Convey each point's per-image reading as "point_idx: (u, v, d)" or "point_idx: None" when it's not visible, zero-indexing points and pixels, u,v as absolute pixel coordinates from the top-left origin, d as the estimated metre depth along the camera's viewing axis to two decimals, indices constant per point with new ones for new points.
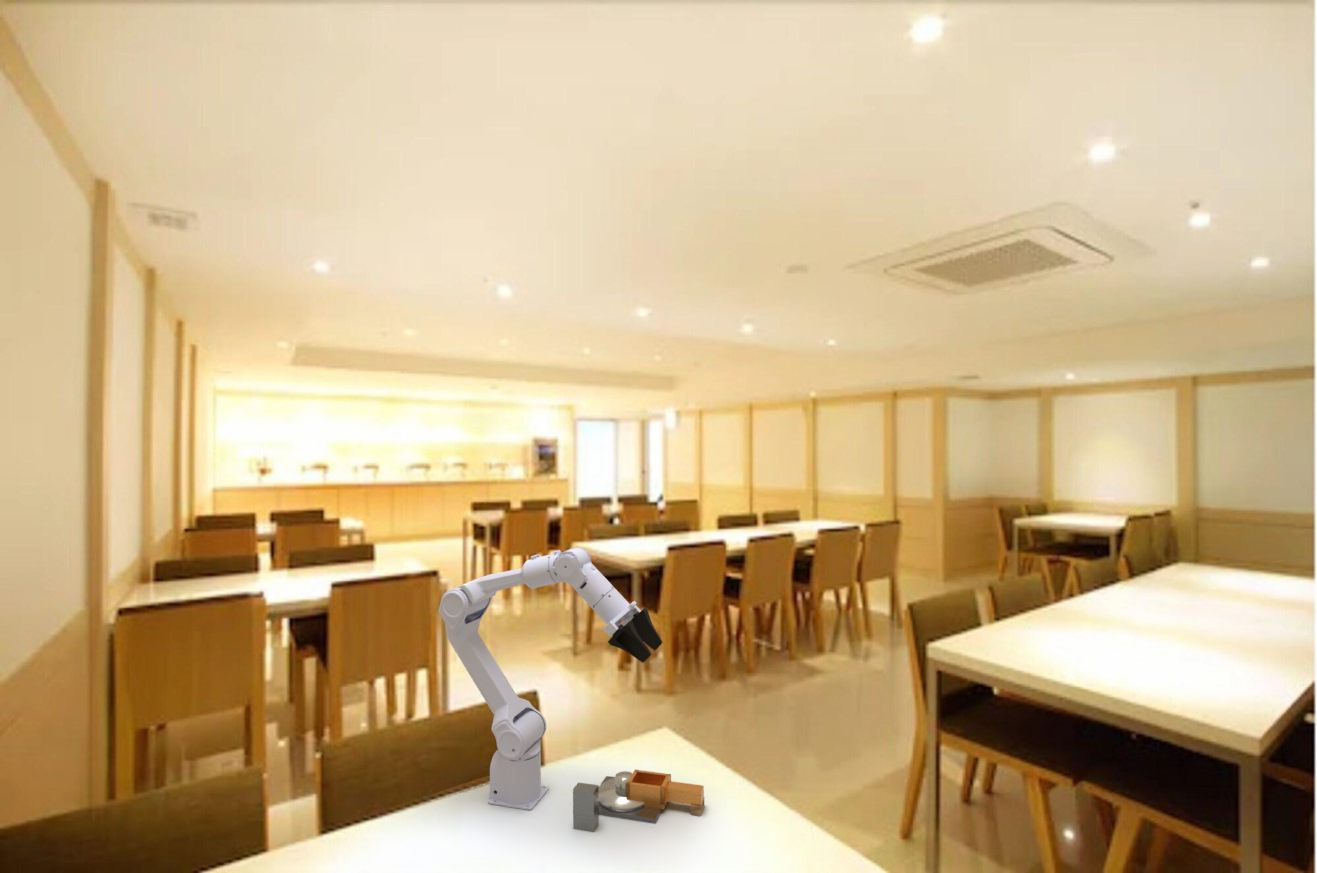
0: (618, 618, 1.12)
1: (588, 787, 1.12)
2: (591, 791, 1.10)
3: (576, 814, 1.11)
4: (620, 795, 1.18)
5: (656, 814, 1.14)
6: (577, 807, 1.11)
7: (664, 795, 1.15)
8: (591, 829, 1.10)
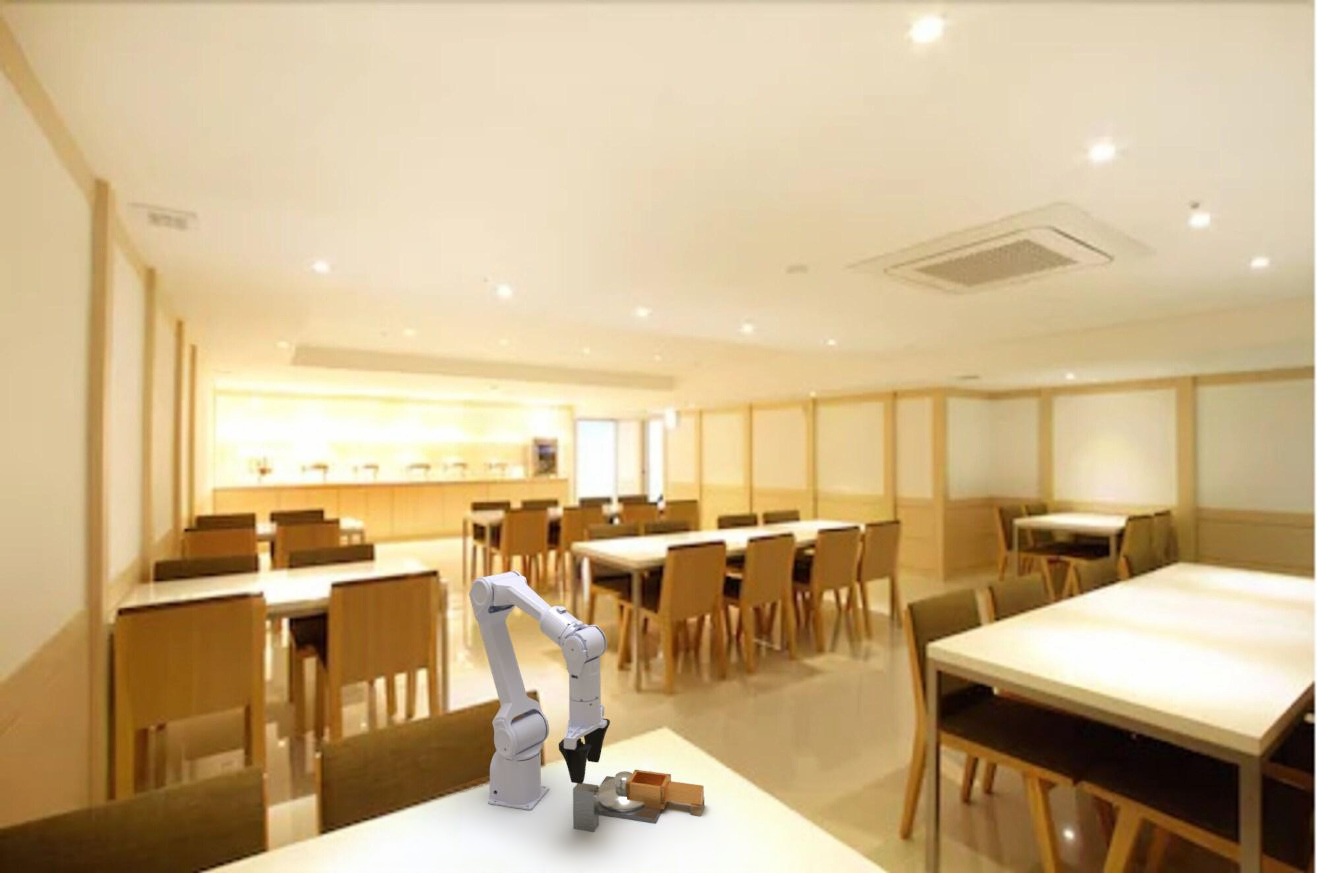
0: (582, 735, 1.07)
1: (588, 787, 1.12)
2: (591, 791, 1.10)
3: (576, 814, 1.11)
4: (620, 795, 1.18)
5: (656, 814, 1.14)
6: (577, 807, 1.11)
7: (664, 795, 1.15)
8: (591, 829, 1.10)
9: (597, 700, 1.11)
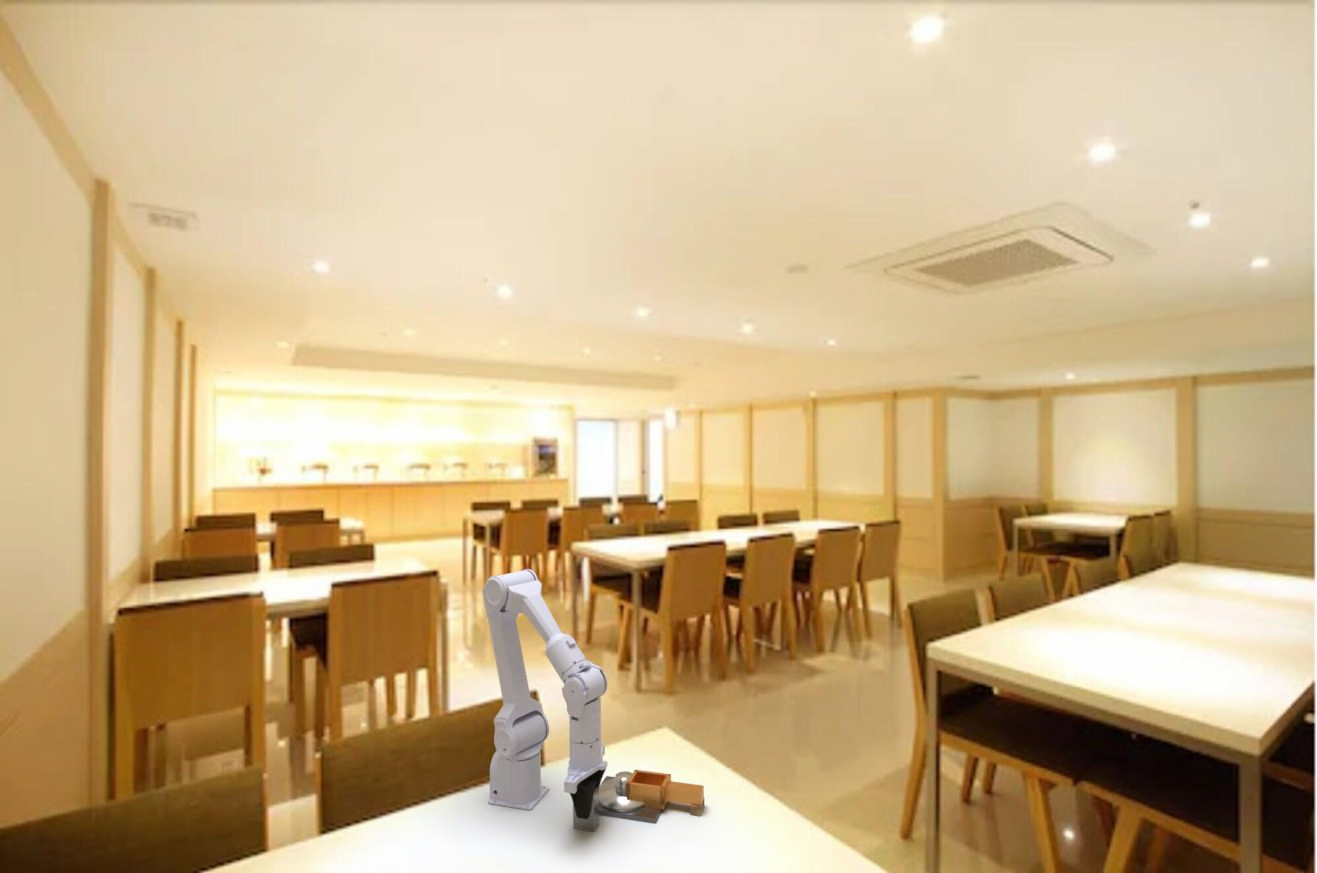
0: (583, 778, 1.07)
1: None
2: None
3: None
4: (620, 795, 1.18)
5: (656, 814, 1.14)
6: None
7: (664, 795, 1.15)
8: (591, 829, 1.10)
9: (597, 742, 1.10)
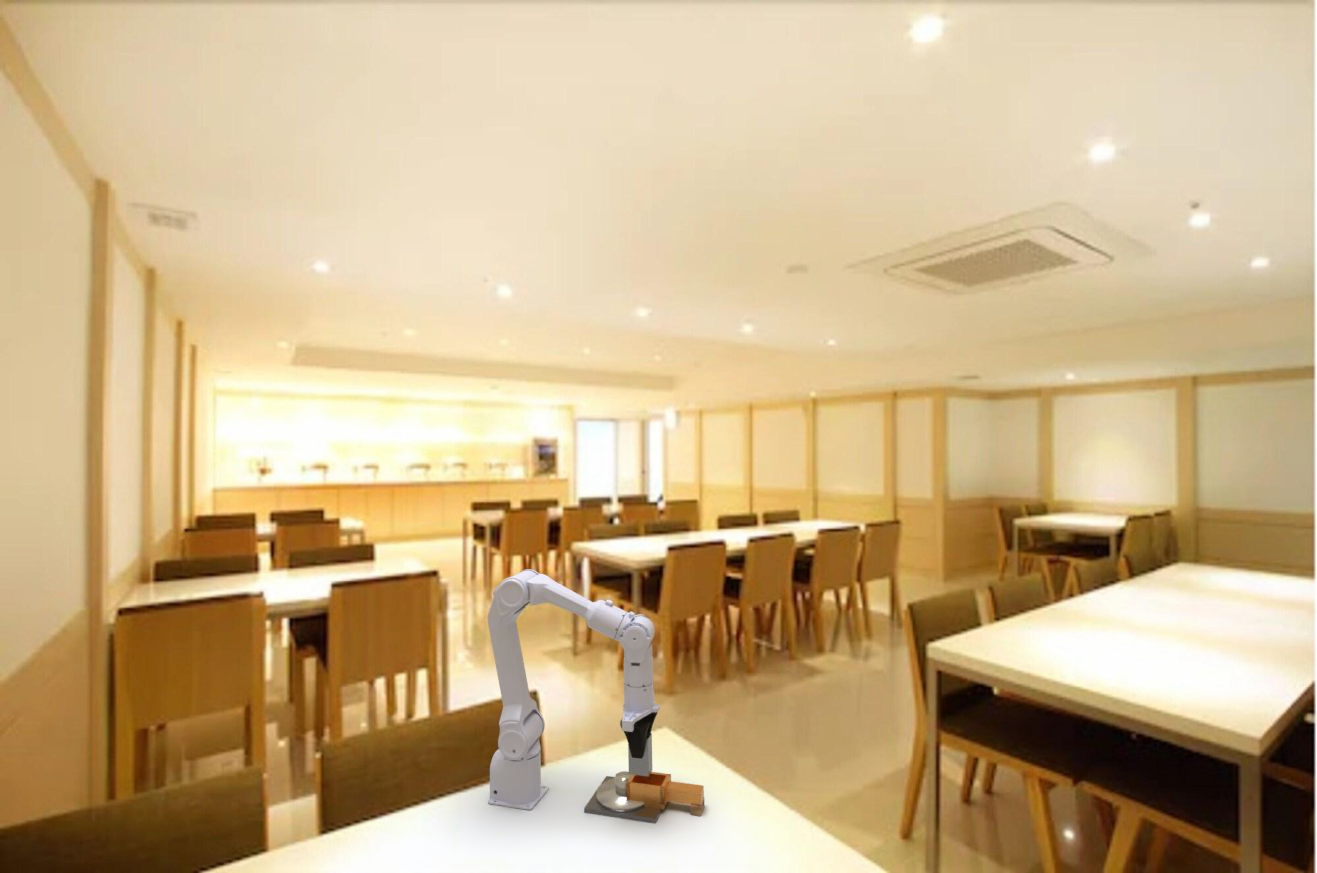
0: (639, 718, 1.13)
1: None
2: None
3: (631, 760, 1.17)
4: (620, 795, 1.18)
5: (656, 814, 1.14)
6: None
7: (664, 795, 1.15)
8: (646, 774, 1.16)
9: (651, 686, 1.17)
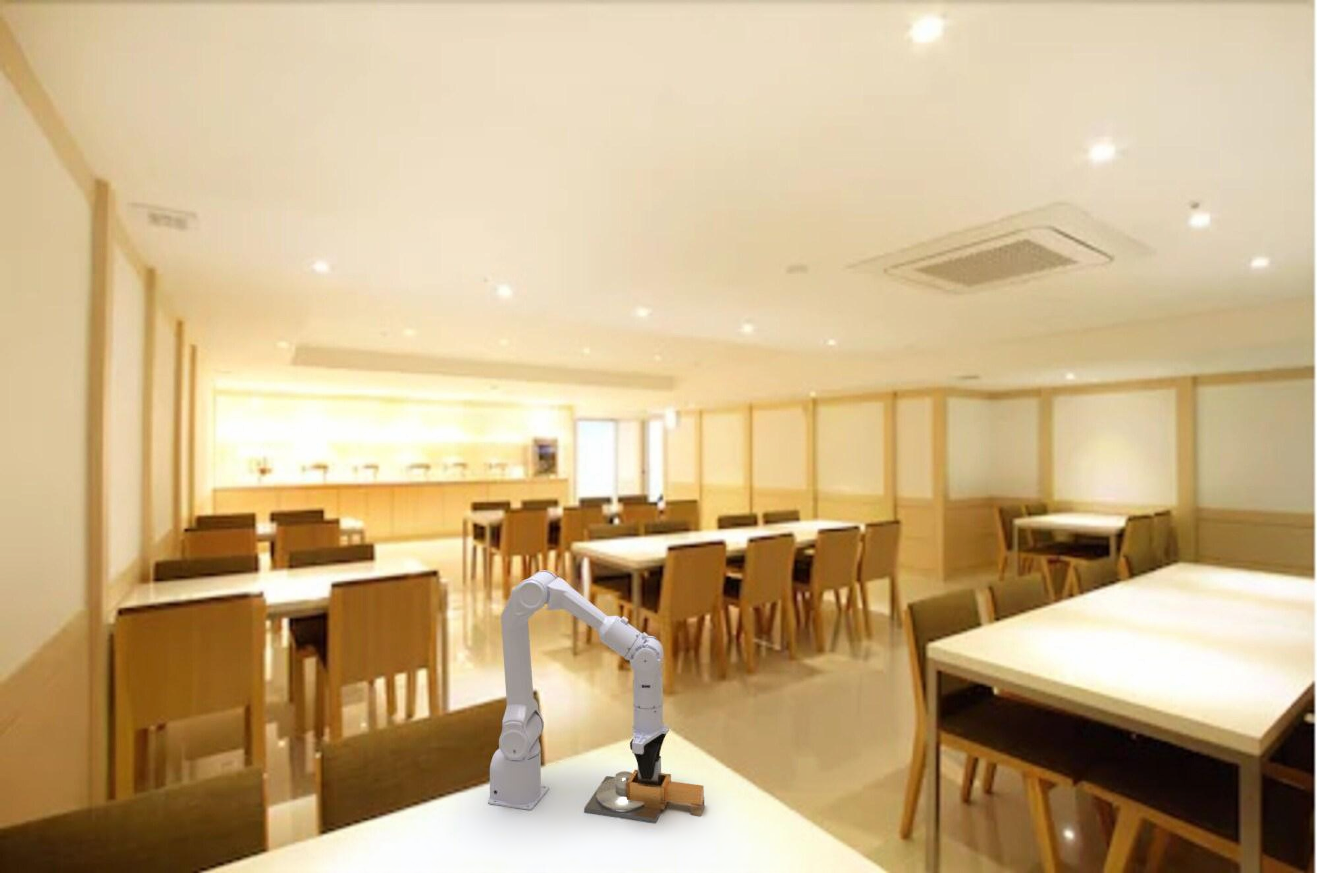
0: (648, 740, 1.14)
1: None
2: (655, 761, 1.18)
3: None
4: (620, 795, 1.18)
5: (656, 814, 1.14)
6: None
7: (664, 795, 1.15)
8: None
9: (660, 707, 1.18)
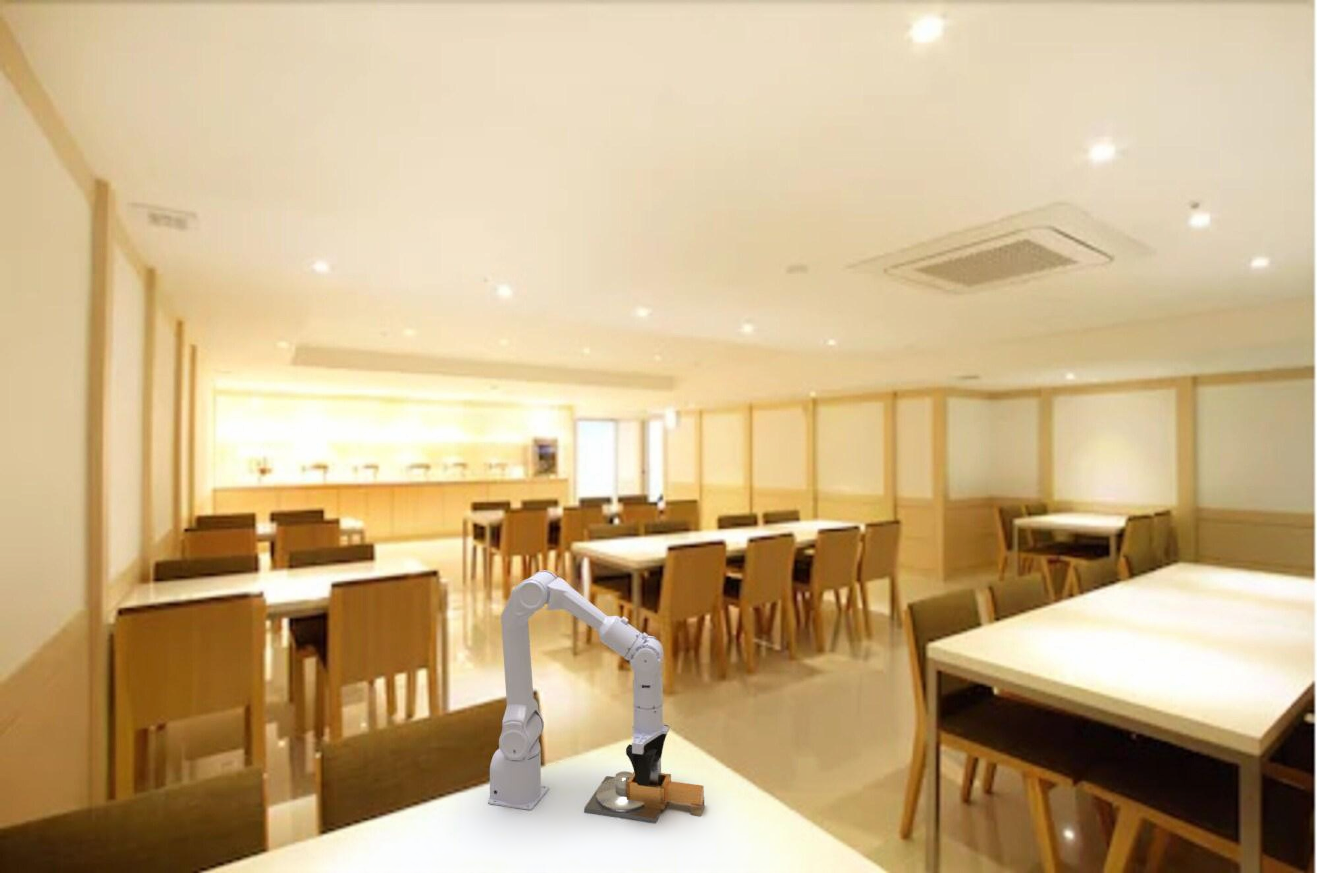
0: (648, 740, 1.14)
1: None
2: (655, 761, 1.18)
3: None
4: (620, 795, 1.18)
5: (656, 814, 1.14)
6: None
7: (664, 795, 1.15)
8: None
9: (660, 708, 1.18)
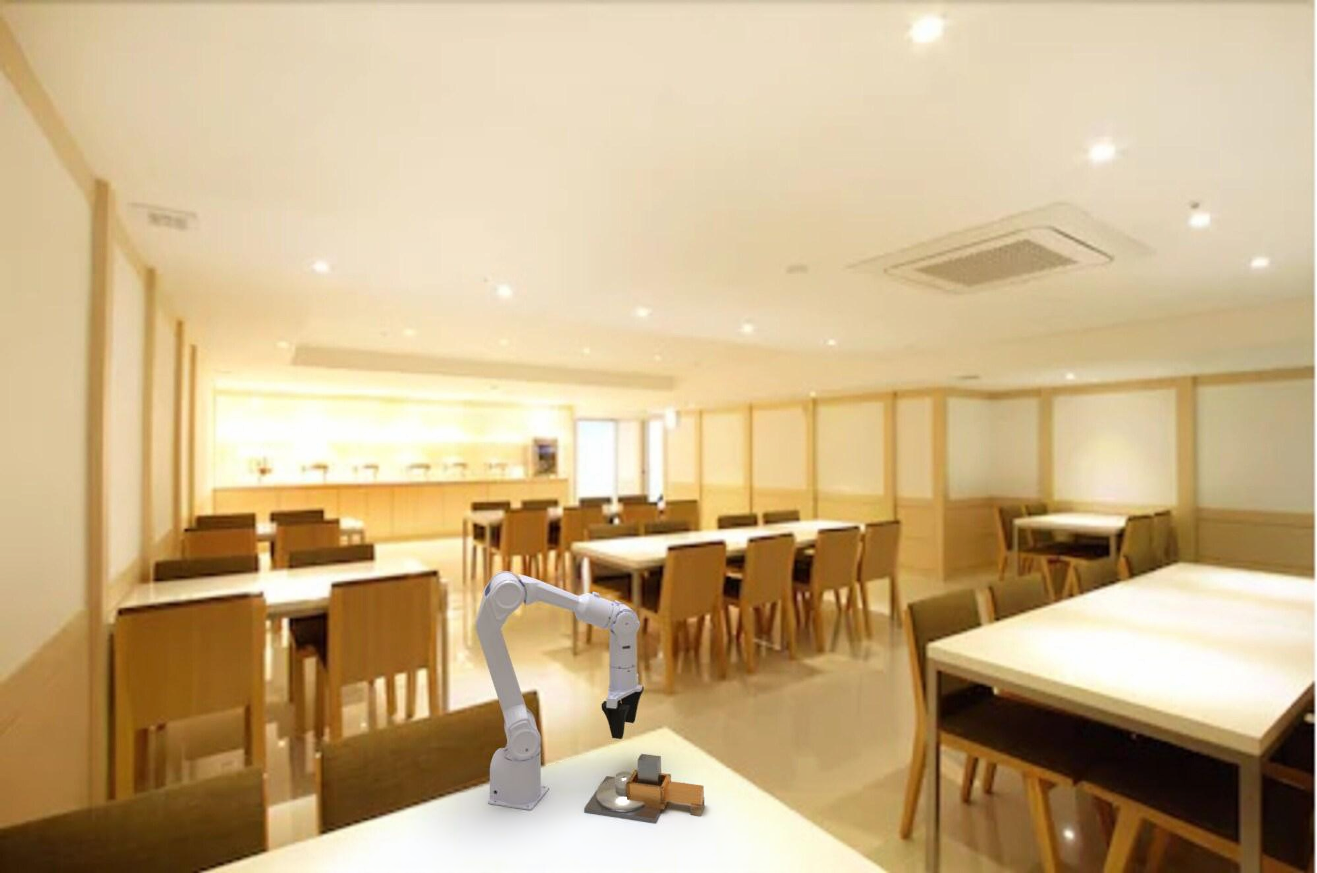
0: (622, 697, 1.24)
1: (652, 758, 1.19)
2: (655, 761, 1.18)
3: None
4: (620, 795, 1.18)
5: (656, 814, 1.14)
6: (642, 776, 1.18)
7: (664, 795, 1.15)
8: None
9: (634, 667, 1.27)
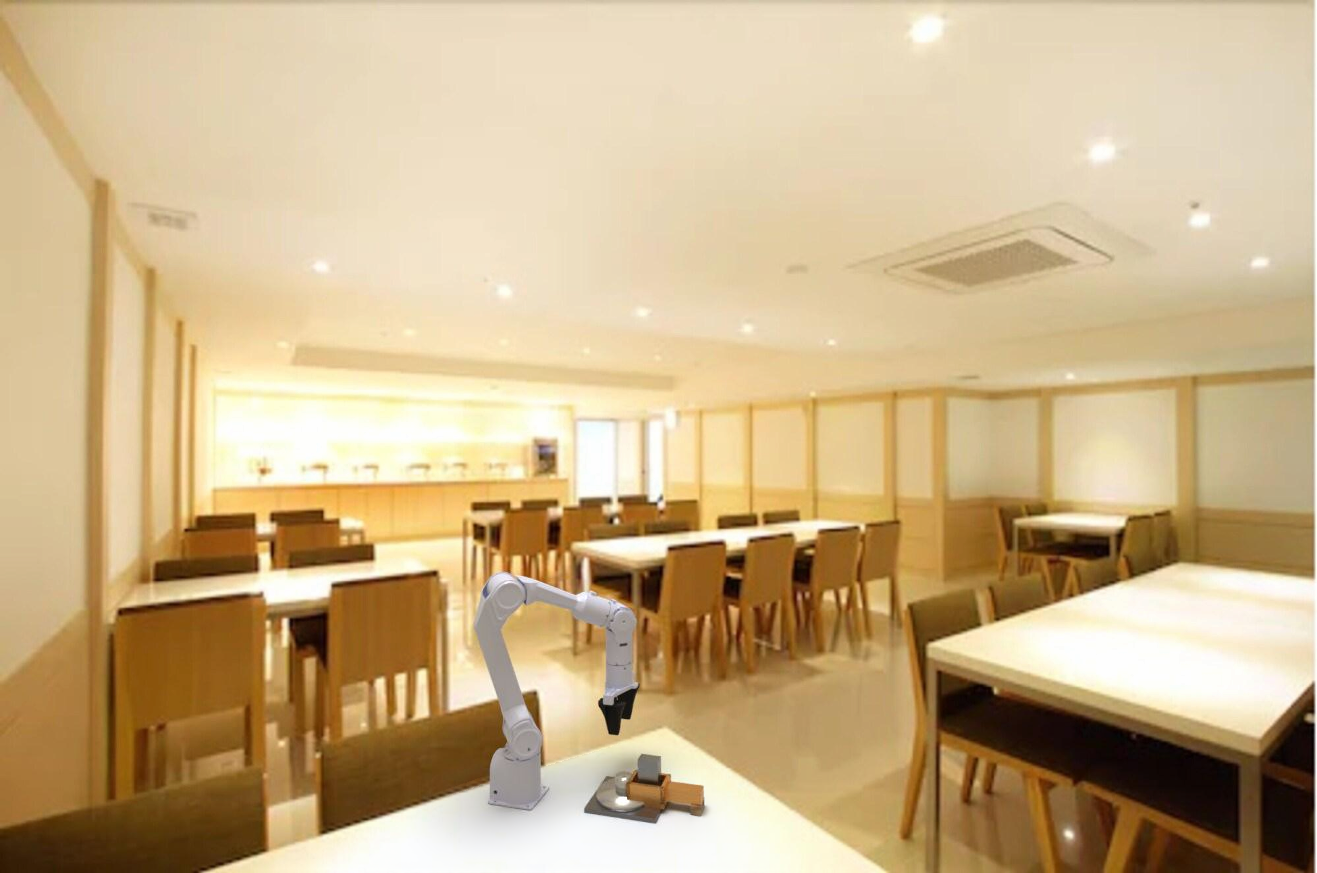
0: (618, 693, 1.25)
1: (652, 758, 1.19)
2: (655, 761, 1.18)
3: None
4: (620, 795, 1.18)
5: (656, 814, 1.14)
6: (642, 776, 1.18)
7: (664, 795, 1.15)
8: None
9: (630, 665, 1.29)
